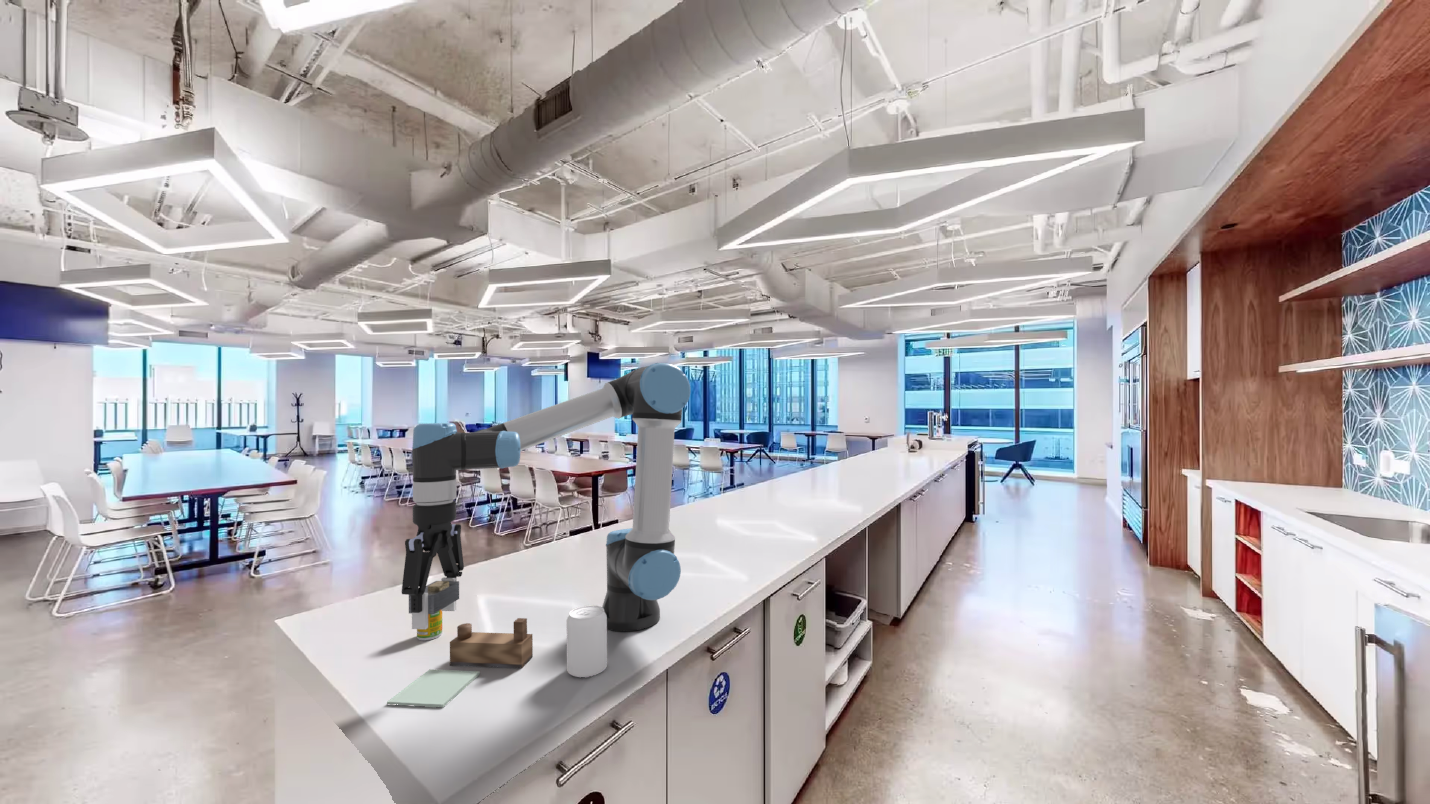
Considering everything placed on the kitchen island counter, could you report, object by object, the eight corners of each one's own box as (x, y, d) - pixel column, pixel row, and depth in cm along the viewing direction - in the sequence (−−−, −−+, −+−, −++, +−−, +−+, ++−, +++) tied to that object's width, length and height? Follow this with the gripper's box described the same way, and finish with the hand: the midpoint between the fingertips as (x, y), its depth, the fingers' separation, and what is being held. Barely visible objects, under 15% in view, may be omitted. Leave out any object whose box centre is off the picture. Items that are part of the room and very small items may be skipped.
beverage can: (586, 684, 102) (586, 622, 102) (558, 673, 106) (558, 614, 106) (615, 666, 109) (614, 608, 109) (587, 657, 113) (587, 601, 113)
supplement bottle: (431, 642, 122) (430, 600, 122) (411, 640, 123) (411, 599, 123) (447, 632, 127) (447, 592, 127) (428, 630, 128) (428, 591, 128)
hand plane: (532, 657, 113) (532, 615, 113) (521, 668, 108) (521, 625, 108) (463, 654, 115) (463, 613, 115) (449, 665, 110) (449, 623, 110)
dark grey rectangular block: (459, 598, 105) (459, 577, 105) (433, 614, 97) (433, 591, 97) (436, 598, 105) (435, 576, 105) (408, 613, 97) (408, 590, 97)
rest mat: (479, 674, 106) (479, 671, 106) (443, 707, 94) (443, 704, 94) (429, 672, 107) (429, 669, 107) (386, 705, 95) (386, 701, 95)
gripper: (449, 493, 112) (449, 599, 112) (376, 512, 91) (376, 642, 91) (482, 493, 111) (482, 600, 111) (416, 512, 91) (416, 643, 90)
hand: (435, 618), depth 101 cm, fingers closed on dark grey rectangular block, 8 cm apart
